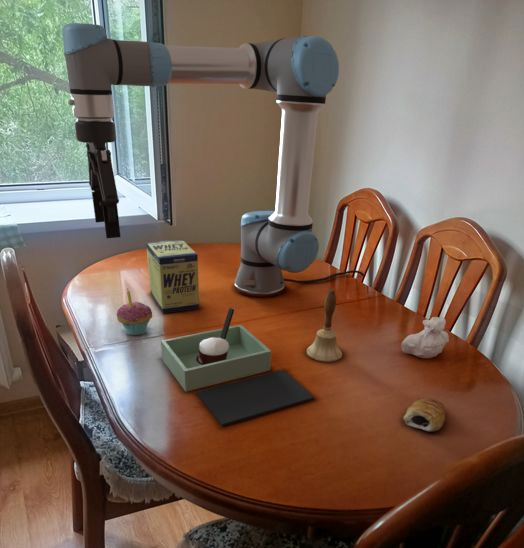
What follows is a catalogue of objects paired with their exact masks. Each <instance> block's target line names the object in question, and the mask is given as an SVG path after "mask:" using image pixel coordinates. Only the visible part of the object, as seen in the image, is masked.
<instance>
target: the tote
mask: <svg viewBox="0 0 524 548" xmlns="http://www.w3.org/2000/svg"><path fill="white" fill-rule="evenodd" d="M222 330H223V327H222V328H218V329H217V328H216V329H212V330H207V331H202V332H197V333H193V334H188V335H183V336H178V337H173V338H168V339H163V340H160V346H161V347H160V348H161V359H162V362H163V363H164V364H165V365H166V367H167V369H169V372H171V374H172V375H173V376H174V378H175V379H176V380H177V383H179V385H180V386H181V387H182V389H183V390H184V391H185V393H186V392H190V391H195V390H200V389H202V388H206V387H211V386H214V385H219V384H221V383H226V382H230V381H235V380H239V379H242V378H246V377H250V376H253V375H254V376H255V375H257V374H261V373H266V372H269V371H271V367H272V366H271V365H272V350H270V349H269V348H268V347H267V346H266V345H265V344H264V343H263V342H262V341H260V340H259V339H258V338H257V337H256V336H255V335H254V334H252V332H250V331H249V330H248V329H246V328H245V326H243V325H242V324H238V325H237V324H236V325H232V326H231V325H230V326H229V329H228V332H227V336H226V339H225V340H226V341H227V342H228V344H229V348H228V354H227V358H226V360H223V361H218V362H214V363H210V364H206V365H201V364H199V363H198V362H197V361H196V357H197V355H199V347H200V342H201V341H202V340H204V339H208V338H212V337H215V338H220V337H221V333H222ZM198 360H199V362H201V359H200V357H199V359H198ZM201 363H202V362H201Z"/></svg>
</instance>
